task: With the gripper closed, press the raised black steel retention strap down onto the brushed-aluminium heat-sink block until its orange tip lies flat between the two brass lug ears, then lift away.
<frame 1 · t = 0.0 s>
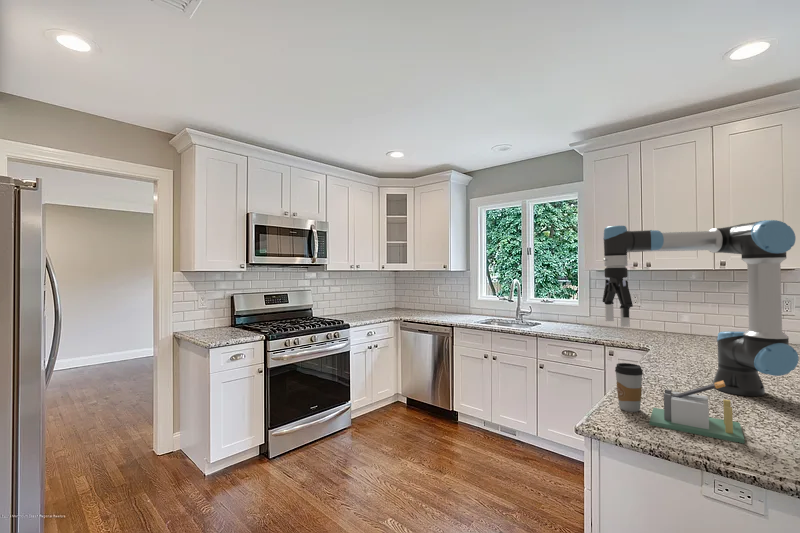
hand: (617, 323, 142), 28 cm above the countertop, fingers open, 13 cm apart
coffee cup: (629, 409, 132), on the countertop
strap: (694, 391, 117), point 11 cm above the countertop, hinge at 28.0°
heatsink base: (694, 425, 117), on the countertop
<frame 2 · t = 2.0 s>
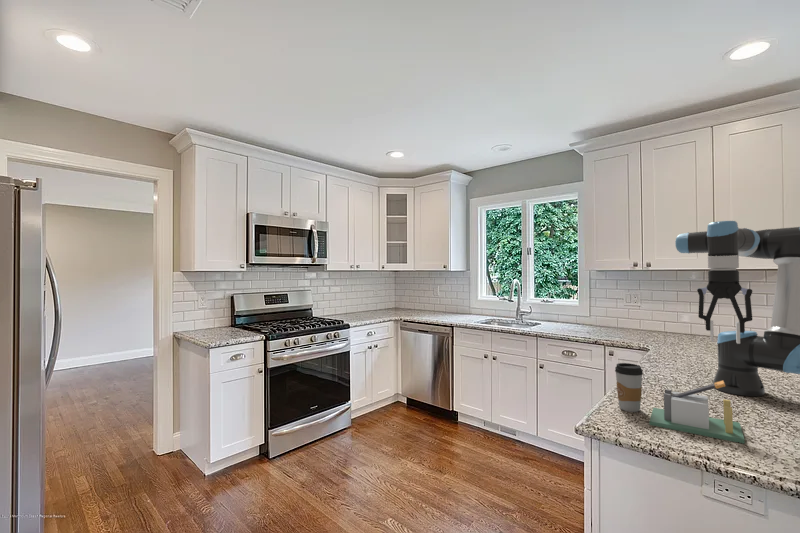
hand: (724, 341, 121), 25 cm above the countertop, fingers open, 6 cm apart
nothing on the countertop moved.
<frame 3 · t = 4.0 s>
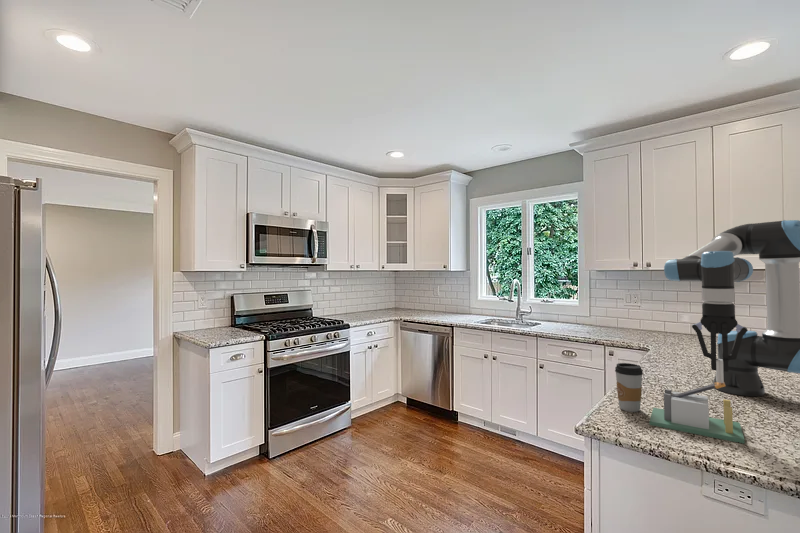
hand: (719, 381, 113), 15 cm above the countertop, fingers closed
strap: (694, 391, 117), point 11 cm above the countertop, hinge at 27.9°, touching gripper
everything else where it was.
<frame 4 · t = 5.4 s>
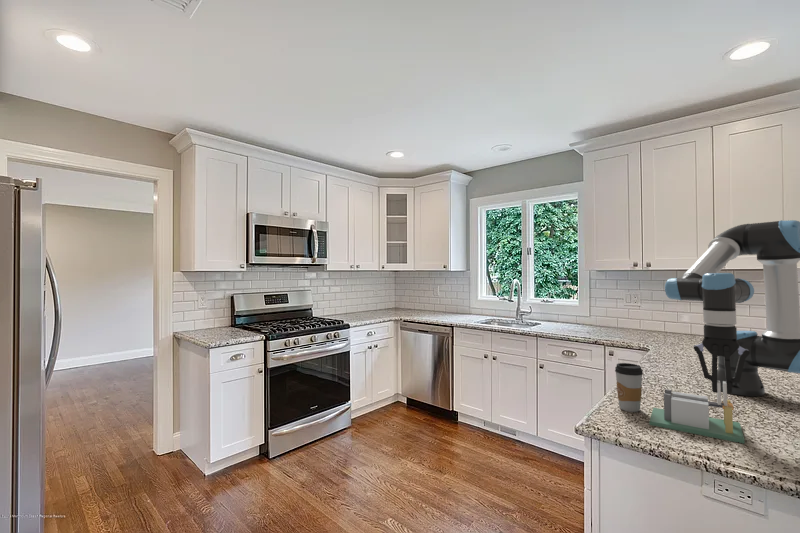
hand: (722, 404, 113), 8 cm above the countertop, fingers closed, pressing on strap
strap: (698, 402, 116), point 7 cm above the countertop, hinge at 2.7°, touching gripper
everything else where it was.
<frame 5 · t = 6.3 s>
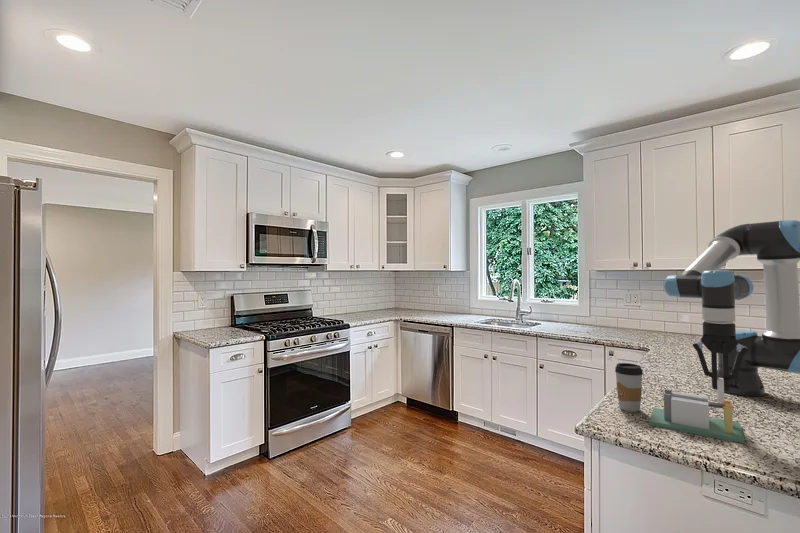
hand: (720, 400, 113), 9 cm above the countertop, fingers closed
strap: (698, 402, 116), point 7 cm above the countertop, hinge at 2.0°
everything else where it was.
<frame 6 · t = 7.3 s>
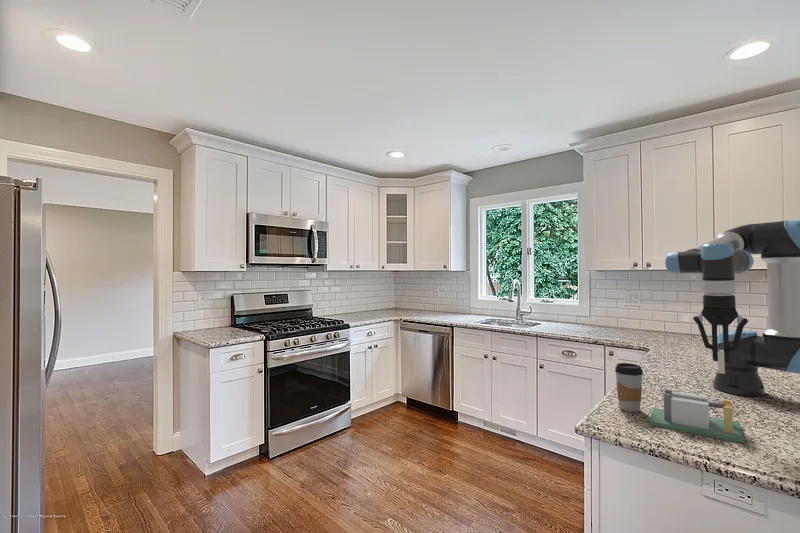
hand: (721, 372, 115), 17 cm above the countertop, fingers closed
nothing on the countertop moved.
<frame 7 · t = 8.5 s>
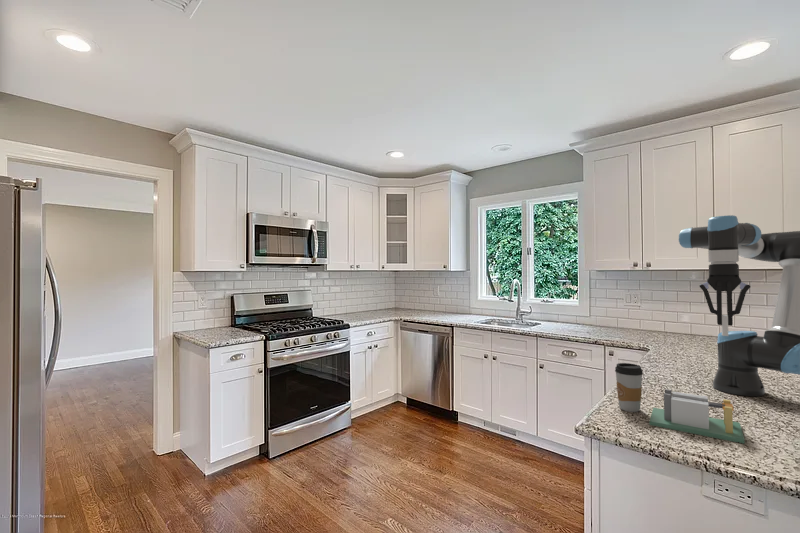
hand: (725, 335, 124), 26 cm above the countertop, fingers closed
nothing on the countertop moved.
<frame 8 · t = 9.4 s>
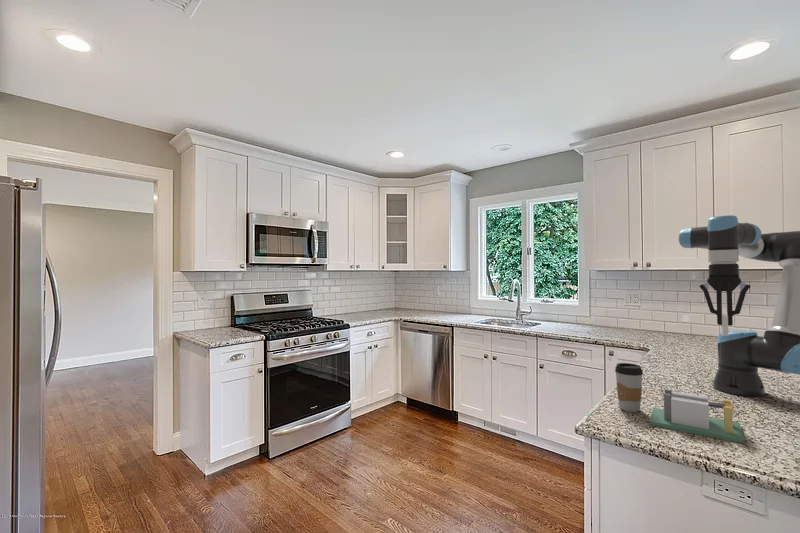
hand: (725, 335, 124), 26 cm above the countertop, fingers closed
nothing on the countertop moved.
at the end: strap at +2° (first picture: +28°) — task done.
